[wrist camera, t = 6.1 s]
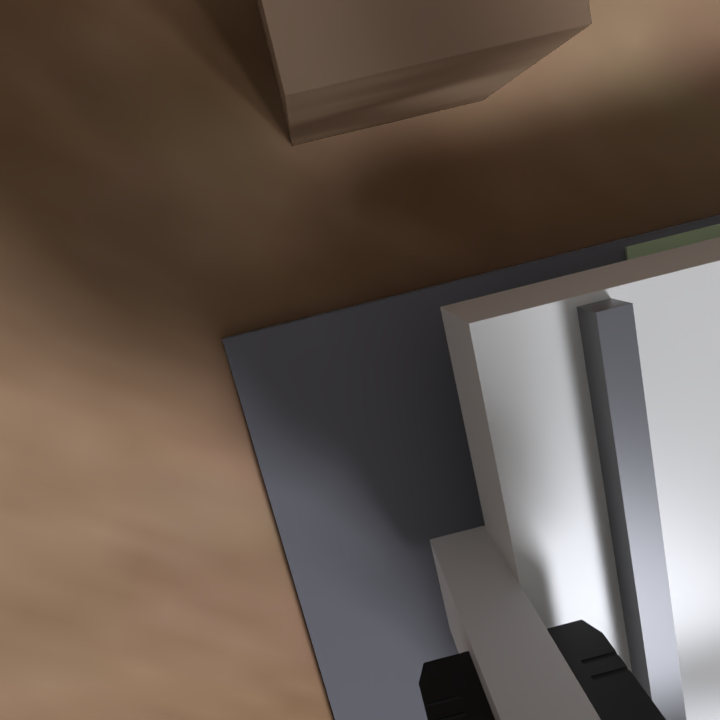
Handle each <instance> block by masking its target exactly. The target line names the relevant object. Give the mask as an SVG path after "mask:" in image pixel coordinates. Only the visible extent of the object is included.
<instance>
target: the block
mask: <svg viewBox="0 0 720 720" xmlns="http://www.w3.org/2000/svg"><path fill="white" fill-rule="evenodd" d="M256 2H257V6H258V10H259V15H260V19H261V23H262V27H263V31H264V35H265V39H266V43H267V47H268V51H269V55H270V59H271V63H272V67H273V71H274V75H275V79H276V83H277V87H278V91H279V95H280V99H281V103H282V107H283V111H284V115H285V119H286V123H287V127H288V131H289V135H290V139H291V143H292V146H293V145H298V144H302V143H306V142H310V141H314V140H319V139H323V138H327V137H331V136H335V135H340V134H344V133H348V132H352V131H356V130H361V129H365V128H369V127H373V126H377V125H382V124H386V123H390V122H394V121H398V120H403V119H407V118H411V117H415V116H419V115H424V114H428V113H432V112H436V111H440V110H445V109H449V108H453V107H457V106H461V105H466V104H470V103H474V102H478V101H482V100H484V99H486V98H487V97H488V96H490V95H491V94H493V93H494V92H495V91H497V90H498V89H500V88H501V87H503V86H504V85H505V84H507V83H508V82H510V81H511V80H513V79H514V78H515V77H517V76H518V75H520V74H521V73H522V72H524V71H525V70H527V69H528V68H530V67H531V66H532V65H534V64H535V63H537V62H538V61H539V60H541V59H542V58H544V57H545V56H547V55H548V54H549V53H551V52H552V51H554V50H555V49H556V48H558V47H559V46H561V45H562V44H564V43H565V42H566V41H568V40H569V39H571V38H572V37H573V36H575V35H576V34H578V33H579V32H581V31H582V30H583V29H585V28H586V27H588V26H589V25H590V24H592V21H591V14H590V6H589V0H256Z"/></svg>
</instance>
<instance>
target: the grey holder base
mask: <svg viewBox="0 0 720 720" xmlns="http://www.w3.org/2000/svg"><path fill="white" fill-rule="evenodd" d="M717 237H720V214H719V215H715V216H711V217H707V218H703V219H699V220H695V221H691V222H687V223H683V224H679V225H675V226H671V227H667V228H663V229H659V230H655V231H651V232H647V233H643V234H639V235H635V236H631V237H627V238H623V239H619V240H615V241H611V242H607V243H603V244H599V245H595V246H591V247H587V248H583V249H579V250H575V251H571V252H567V253H563V254H559V255H555V256H551V257H546V258H542V259H538V260H534V261H530V262H526V263H522V264H518V265H514V266H510V267H506V268H502V269H498V270H494V271H490V272H486V273H482V274H478V275H474V276H470V277H466V278H462V279H458V280H454V281H450V282H446V283H442V284H438V285H434V286H430V287H426V288H422V289H418V290H414V291H410V292H406V293H402V294H398V295H394V296H390V297H386V298H382V299H378V300H374V301H370V302H366V303H362V304H358V305H354V306H350V307H346V308H341V309H337V310H333V311H329V312H325V313H321V314H317V315H313V316H309V317H305V318H301V319H297V320H293V321H289V322H285V323H281V324H277V325H273V326H269V327H265V328H261V329H257V330H253V331H249V332H245V333H241V334H237V335H233V336H229V337H225V338H223V340H222V341H223V344H224V347H225V351H226V354H227V358H228V361H229V364H230V368H231V371H232V374H233V378H234V381H235V385H236V388H237V391H238V395H239V398H240V401H241V405H242V408H243V411H244V415H245V418H246V422H247V425H248V428H249V432H250V435H251V438H252V442H253V445H254V449H255V452H256V455H257V459H258V462H259V465H260V469H261V472H262V476H263V479H264V482H265V486H266V489H267V492H268V496H269V499H270V503H271V506H272V509H273V513H274V516H275V519H276V523H277V526H278V529H279V533H280V536H281V540H282V543H283V546H284V550H285V553H286V556H287V560H288V563H289V567H290V570H291V573H292V577H293V580H294V583H295V587H296V590H297V594H298V597H299V600H300V604H301V607H302V610H303V614H304V617H305V621H306V624H307V627H308V631H309V634H310V637H311V641H312V644H313V647H314V651H315V654H316V658H317V661H318V664H319V668H320V671H321V674H322V678H323V681H324V685H325V688H326V691H327V695H328V698H329V701H330V705H331V708H332V712H333V715H334V718H335V720H428V719H427V715H426V711H425V707H424V703H423V699H422V695H421V691H420V687H419V680H420V676H421V672H422V668H423V663H425V662H429V661H432V660H436V659H440V658H444V657H448V656H451V655H455V654H459V653H458V650H457V647H456V645H455V642H454V639H453V636H452V633H451V630H450V627H449V623H448V619H447V614H446V610H445V605H444V601H443V596H442V592H441V587H440V583H439V579H438V574H437V570H436V565H435V561H434V556H433V552H432V548H431V543H430V539H433V538H437V537H441V536H445V535H449V534H453V533H457V532H461V531H465V530H469V529H472V528H476V527H480V526H484V525H485V522H484V518H483V513H482V508H481V503H480V498H479V493H478V488H477V484H476V479H475V474H474V469H473V464H472V459H471V454H470V450H469V445H468V440H467V435H466V430H465V425H464V420H463V416H462V411H461V406H460V401H459V396H458V391H457V386H456V382H455V377H454V372H453V367H452V362H451V357H450V352H449V348H448V343H447V338H446V333H445V328H444V323H443V319H442V314H441V309H440V307H442V306H446V305H450V304H454V303H458V302H462V301H466V300H470V299H474V298H478V297H482V296H486V295H490V294H494V293H498V292H502V291H506V290H510V289H514V288H518V287H522V286H526V285H530V284H534V283H538V282H542V281H546V280H550V279H554V278H558V277H562V276H566V275H570V274H574V273H578V272H582V271H586V270H590V269H594V268H598V267H602V266H606V265H610V264H614V263H618V262H622V261H626V260H630V259H634V258H638V257H642V256H646V255H650V254H654V253H658V252H662V251H666V250H670V249H674V248H678V247H681V246H685V245H689V244H693V243H697V242H701V241H705V240H709V239H713V238H717Z"/></svg>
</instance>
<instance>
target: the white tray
mask: <svg viewBox="0 0 720 720" xmlns="http://www.w3.org/2000/svg"><path fill="white" fill-rule="evenodd" d="M440 309H441V314H442V319H443V323H444V328H445V333H446V338H447V343H448V348H449V352H450V357H451V362H452V367H453V372H454V377H455V382H456V386H457V391H458V396H459V401H460V406H461V411H462V416H463V420H464V425H465V430H466V435H467V440H468V445H469V450H470V454H471V459H472V464H473V469H474V474H475V479H476V484H477V488H478V493H479V498H480V503H481V508H482V513H483V518H484V522H485V527H486V529H487V531H488V533H489V534H490V536H491V538H492V539H493V541H494V543H495V544H496V546H497V547H498V549H499V551H500V552H501V554H502V556H503V557H504V559H505V561H506V562H507V564H508V566H509V567H510V569H511V571H512V572H513V574H514V575H515V577H516V579H517V580H518V582H519V584H520V585H521V587H522V589H523V590H524V592H525V594H526V595H527V597H528V599H529V600H530V602H531V604H532V605H533V607H534V609H535V610H536V612H537V614H538V615H539V617H540V619H541V620H542V622H543V624H544V625H545V627H546V629H547V628H551V627H555V626H559V625H562V624H566V623H570V622H574V621H578V620H581V619H582V620H583V621H585V622H586V623H588V624H590V625H591V626H593V627H594V628H596V629H597V630H599V631H600V632H602V633H603V634H604V635H605V637H606V638H607V640H608V641H609V642H610V644H611V645H612V646H613V648H614V649H615V651H616V653H617V655H619V656H620V657H621V659H622V660H623V661H624V663H625V664H626V666H627V668H628V670H630V671H631V672H632V674H633V675H634V677H635V678H636V679H637V681H638V682H639V683H640V685H641V686H642V687H643V689H644V690H645V692H646V693H647V694H648V696H649V697H650V698H651V700H652V701H653V702H654V704H655V705H656V707H657V708H658V709H659V711H660V712H661V713H662V715H663V716H664V718H665V719H666V720H720V237H717V238H713V239H709V240H705V241H701V242H697V243H693V244H689V245H685V246H681V247H678V248H674V249H670V250H666V251H662V252H658V253H654V254H650V255H646V256H642V257H638V258H634V259H630V260H626V261H622V262H618V263H614V264H610V265H606V266H602V267H598V268H594V269H590V270H586V271H582V272H578V273H574V274H570V275H566V276H562V277H558V278H554V279H550V280H546V281H542V282H538V283H534V284H530V285H526V286H522V287H518V288H514V289H510V290H506V291H502V292H498V293H494V294H490V295H486V296H482V297H478V298H474V299H470V300H466V301H462V302H458V303H454V304H450V305H446V306H442V307H440Z"/></svg>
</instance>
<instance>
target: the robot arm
mask: <svg viewBox="0 0 720 720" xmlns="http://www.w3.org/2000/svg"><path fill="white" fill-rule="evenodd" d="M430 543H431V548H432V552H433V556H434V561H435V565H436V570H437V574H438V579H439V583H440V587H441V592H442V596H443V601H444V605H445V610H446V614H447V619H448V623H449V627H450V630H451V633H452V636H453V639H454V642H455V645H456V647H457V650H458V653H459V654H455V655H451V656H448V657H444V658H440V659H436V660H432V661H429V662H425V663H423V668H422V672H421V676H420V680H419V687H420V691H421V695H422V699H423V703H424V707H425V711H426V715H427V719H428V720H666V719H665V718H664V716H663V715H662V713H661V712H660V711H659V709H658V708H657V707H656V705H655V704H654V702H653V701H652V700H651V698H650V697H649V696H648V694H647V693H646V692H645V690H644V689H643V687H642V686H641V685H640V683H639V682H638V681H637V679H636V678H635V677H634V675H633V674H632V672H631V671H630V670H628V668H627V666H626V664H625V663H624V661H623V660H622V659H621V657H620V656H619V655H617V653H616V651H615V649H614V648H613V646H612V645H611V644H610V642H609V641H608V640H607V638H606V637H605V635H604V634H603V633H602V632H600V631H599V630H597V629H596V628H594V627H593V626H591V625H590V624H588V623H586V622H585V621H583V620H582V619H581V620H578V621H574V622H570V623H566V624H562V625H559V626H555V627H551V628H547V629H546V627H545V625H544V624H543V622H542V620H541V619H540V617H539V615H538V614H537V612H536V610H535V609H534V607H533V605H532V604H531V602H530V600H529V599H528V597H527V595H526V594H525V592H524V590H523V589H522V587H521V585H520V584H519V582H518V580H517V579H516V577H515V575H514V574H513V572H512V571H511V569H510V567H509V566H508V564H507V562H506V561H505V559H504V557H503V556H502V554H501V552H500V551H499V549H498V547H497V546H496V544H495V543H494V541H493V539H492V538H491V536H490V534H489V533H488V531H487V529H486V527H485V525H484V526H480V527H476V528H472V529H469V530H465V531H461V532H457V533H453V534H449V535H445V536H441V537H437V538H433V539H430Z"/></svg>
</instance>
